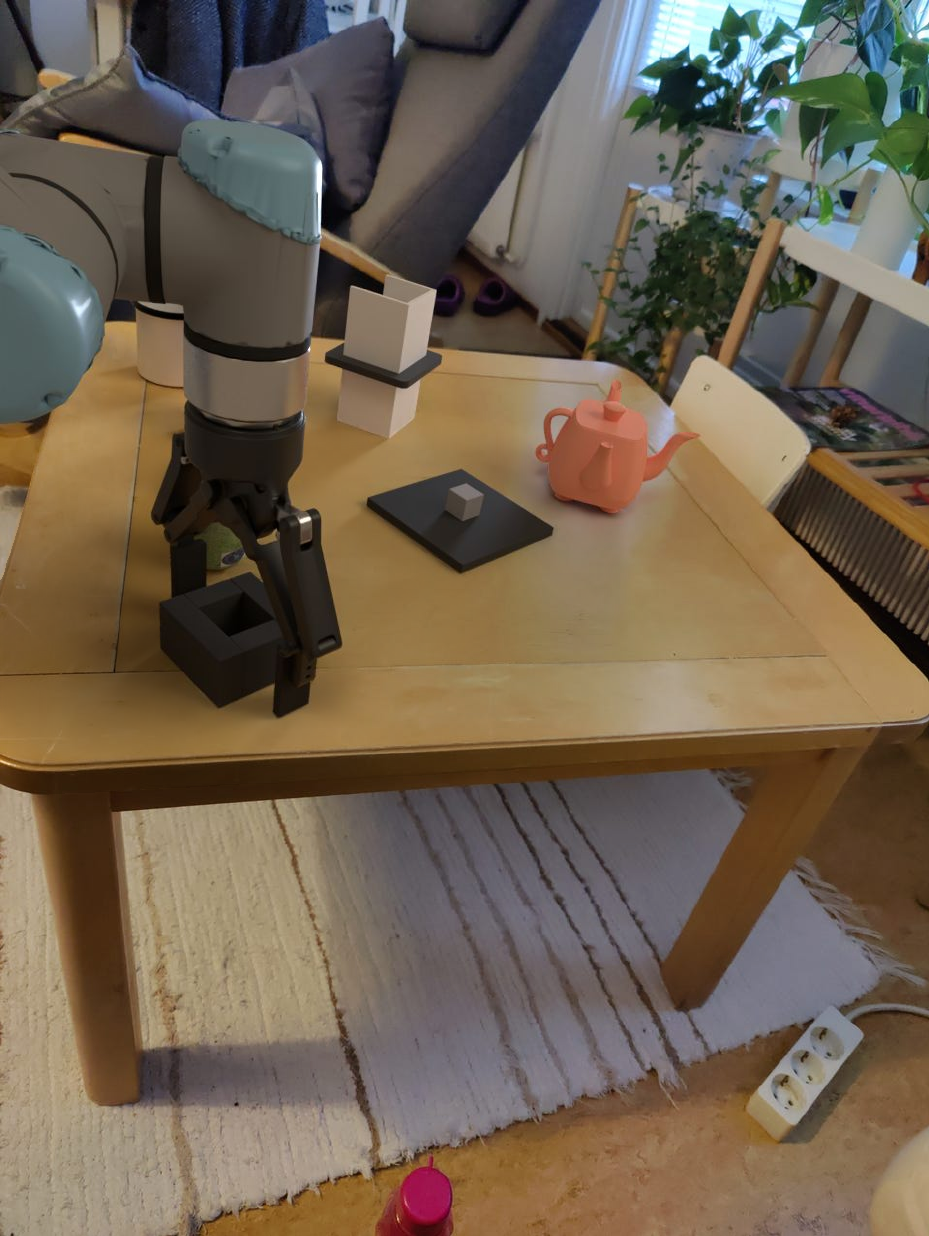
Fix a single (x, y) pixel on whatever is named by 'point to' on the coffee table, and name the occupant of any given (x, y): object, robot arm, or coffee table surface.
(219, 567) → the beverage can
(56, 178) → the robot arm
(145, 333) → the mug
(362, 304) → the candle holder
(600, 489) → the teapot
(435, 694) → the coffee table surface
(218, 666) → the black hollow square block
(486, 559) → the base pad
